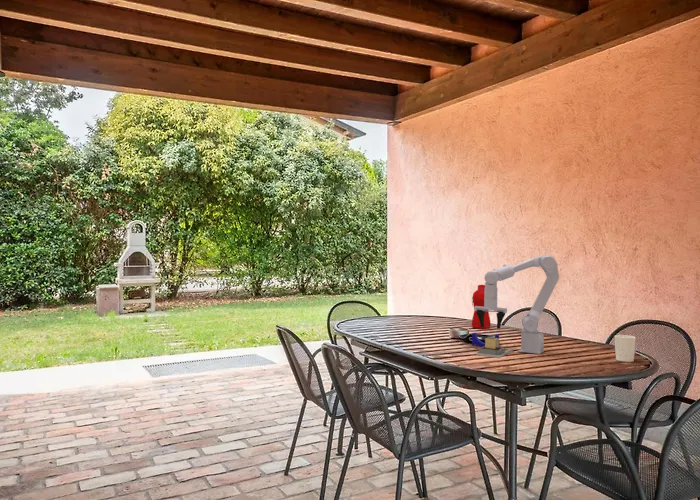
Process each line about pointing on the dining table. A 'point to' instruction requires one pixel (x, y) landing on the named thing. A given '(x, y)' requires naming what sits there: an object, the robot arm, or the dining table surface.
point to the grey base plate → (494, 352)
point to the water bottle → (479, 301)
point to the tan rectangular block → (492, 343)
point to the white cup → (625, 348)
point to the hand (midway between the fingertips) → (490, 327)
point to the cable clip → (478, 342)
